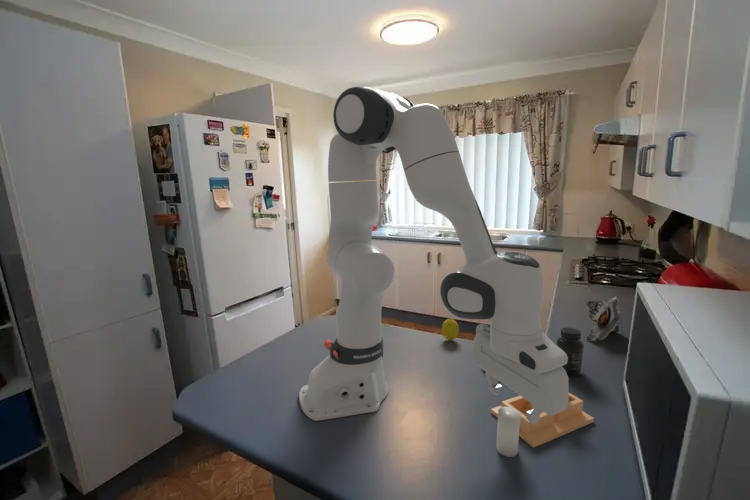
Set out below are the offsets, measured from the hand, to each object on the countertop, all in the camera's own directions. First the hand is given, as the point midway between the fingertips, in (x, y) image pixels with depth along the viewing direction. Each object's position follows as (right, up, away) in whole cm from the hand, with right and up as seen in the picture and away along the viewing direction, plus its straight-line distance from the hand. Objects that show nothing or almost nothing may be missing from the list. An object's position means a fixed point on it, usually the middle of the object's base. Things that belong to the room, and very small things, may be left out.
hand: (512, 406), depth 67 cm
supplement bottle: (+27, -4, +30) cm, 41 cm away
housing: (+11, -8, +11) cm, 17 cm away
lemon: (-1, -1, +50) cm, 50 cm away
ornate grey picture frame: (+51, 0, +52) cm, 73 cm away
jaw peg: (0, -10, +2) cm, 10 cm away
